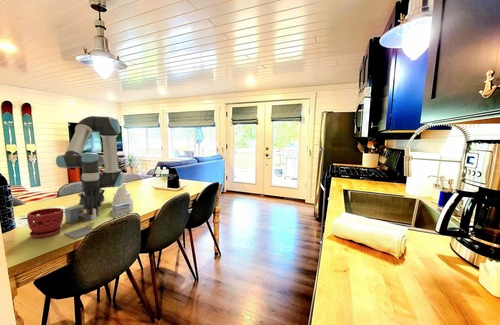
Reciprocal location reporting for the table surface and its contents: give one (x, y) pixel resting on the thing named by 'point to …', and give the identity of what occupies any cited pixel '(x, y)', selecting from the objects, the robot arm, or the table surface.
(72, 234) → the slate tile
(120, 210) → the medicine box
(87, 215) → the bar
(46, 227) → the plant pot
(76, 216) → the block
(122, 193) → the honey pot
